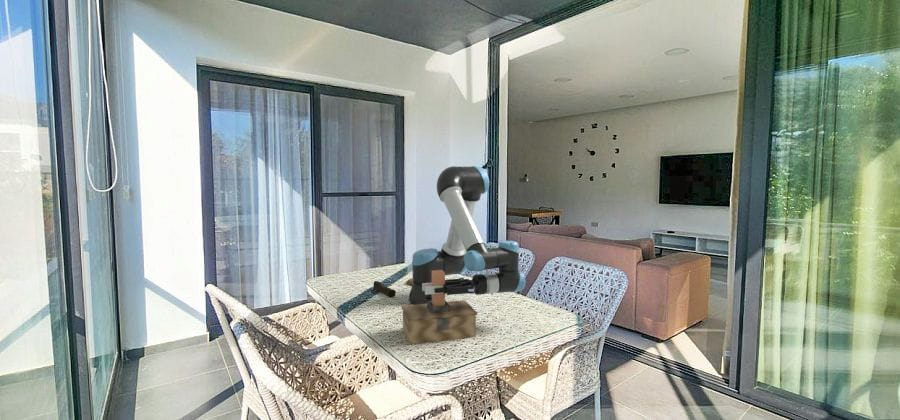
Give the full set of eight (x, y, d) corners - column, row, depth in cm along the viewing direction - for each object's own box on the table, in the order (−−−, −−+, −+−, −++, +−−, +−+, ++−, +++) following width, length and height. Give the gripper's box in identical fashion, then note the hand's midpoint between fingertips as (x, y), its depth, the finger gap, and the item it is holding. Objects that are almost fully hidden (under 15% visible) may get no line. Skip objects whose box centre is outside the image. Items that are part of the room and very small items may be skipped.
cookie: (410, 287, 210) (410, 282, 210) (404, 282, 220) (404, 277, 219) (428, 285, 214) (428, 280, 214) (421, 280, 224) (421, 275, 224)
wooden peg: (434, 311, 147) (434, 273, 145) (431, 307, 150) (431, 270, 149) (445, 310, 148) (444, 272, 146) (442, 306, 151) (442, 269, 150)
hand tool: (396, 297, 194) (396, 287, 194) (388, 298, 192) (388, 289, 191) (379, 288, 210) (379, 279, 209) (372, 289, 207) (371, 280, 207)
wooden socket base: (408, 345, 139) (408, 313, 138) (401, 329, 154) (401, 300, 153) (477, 337, 146) (477, 307, 145) (464, 322, 160) (464, 295, 159)
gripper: (493, 300, 145) (428, 306, 139) (477, 287, 162) (419, 292, 155) (493, 279, 145) (428, 284, 138) (477, 269, 161) (418, 273, 155)
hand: (423, 288), depth 147 cm, fingers closed on wooden peg, 4 cm apart
